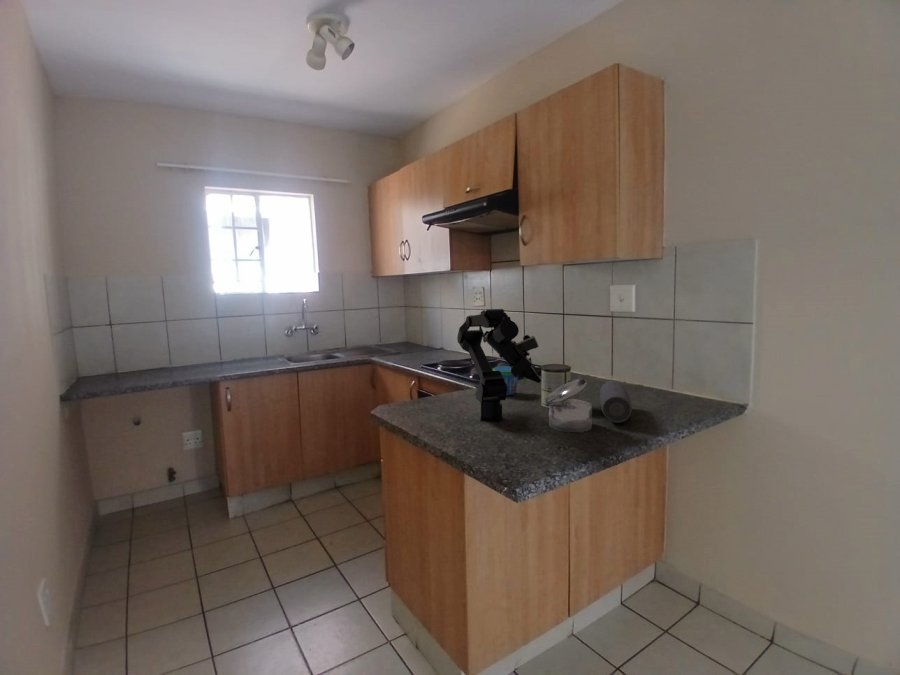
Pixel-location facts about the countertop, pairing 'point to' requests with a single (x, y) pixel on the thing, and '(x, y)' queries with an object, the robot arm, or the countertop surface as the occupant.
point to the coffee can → (553, 379)
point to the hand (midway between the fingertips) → (540, 381)
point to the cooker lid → (566, 391)
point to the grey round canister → (571, 416)
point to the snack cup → (509, 379)
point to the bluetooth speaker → (615, 402)
